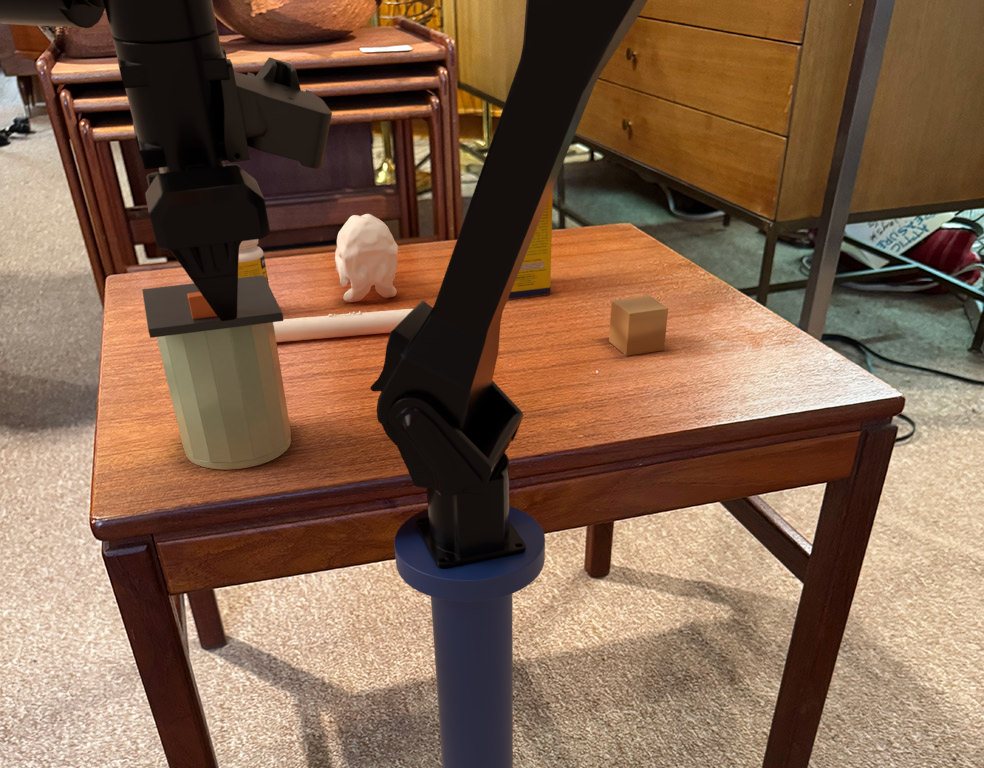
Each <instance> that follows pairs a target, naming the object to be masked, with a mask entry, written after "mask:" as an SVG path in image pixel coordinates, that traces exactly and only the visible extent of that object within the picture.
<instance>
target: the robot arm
mask: <svg viewBox="0 0 984 768" xmlns="http://www.w3.org/2000/svg"><path fill="white" fill-rule="evenodd" d="M648 1H649V0H525V12H524V27H523V42H522V48H521V54H520V59H519V61H518V64H517V68H516V70H515V73H514V76H513V79H512V82H511V85H510V88H509V91H508V93H507V96H506V98H505V102H504V104H503V107H502V110H501V113H500V116H499V119H498V122H497V124H496V128H495V131H494V133H493V136H492V139H491V141H490V145H489V147H488V150H487V153H486V156H485V159H484V162H483V165H482V167H481V170H480V173H479V176H478V179H477V181H476V185H475V187H474V190H473V193H472V196H471V198H470V201H469V204H468V208H467V210H466V213H465V216H464V219H463V222H462V225H461V227H460V230H459V234H458V236H457V238H456V242H455V244H454V248H453V250H452V253H451V255H450V256H451V257H450V259H449V262H448V265H447V268H446V270H445V272H444V273H445V274H444V276H443V279H442V282H441V285H440V287H439V290H438V293H437V296H436V299H435V302H434V304H433V306H431V305H430V304H428V302H426V301H424V300H420V302H419V303H418V304H417V305H416V306H414V308H412V309H413V310H412V311H411V312H410V313H409V314H408V315H407V316H406V317H405V318H404V319H403V320H402V321H401V322H400V323H399V324H398V325H397V326H396V327H395V328H394V329H393V330H392V331H391V332H390V333H389V336H388V340H387V343H386V347H385V354H384V355H385V356H384V363H383V368H382V371H381V372H380V374H379V376H378V378H377V379H376V380H375V381H374V382H373V384H372V385H370V390H371V392H374V393H375V392H379V393H380V394H379V396H378V398H377V403H376V418H377V421H378V423H379V424H381V426H382V428H383V430H384V433H385V434H386V436H387V437H388V438H389V439H390V440H391V442H392V443H393V444H394V445H395V446H396V447H397V449H398V451H399V453H400V456H401V458H402V460H403V462H404V465H405V467H406V469H407V472H408V474H409V477H410V478H411V480H412V483H413V485H414V486H415V487H417V488H423V489H426V500H427V501H426V504H427V509H428V517H423V518H419V519H417V520H416V521H415V524H416V529H417V531H418V532H419V534H420V536H421V538H422V540H423V542H424V544H425V545H426V547H427V549H428V551H429V553H430V555H431V557H432V559H433V560H434V562H435V564H436V566H437V567H438V568H440V569H448V568H453V567H458V566H463V565H468V564H473V563H478V562H483V561H488V560H493V559H498V558H503V557H508V556H513V555H518V554H522V553H524V552H525V551H526V544H525V543H524V541H523V540H522V538H521V537H520V535H519V534H518V533H517V531H516V530H515V528H514V527H513V525H512V524H511V523H510V521H509V506H510V459H509V457H508V455H507V454H506V451H507V449H508V448H509V446H510V444H511V443H512V442H513V441H514V440H515V438H516V436H517V434H518V431H519V429H520V426H521V423H522V421H523V418H524V412H523V411H522V410H521V409H520V408H519V407H518V405H516V403H515V402H514V401H513V400H511V398H510V397H509V396H508V395H507V394H506V393H505V392H504V391H503V390H502V389H501V388H500V386H498V384H497V383H496V382H495V381H494V380H493V379H494V375H495V369H496V365H497V361H498V355H499V349H500V335H501V323H502V322H501V321H502V318H503V317H502V316H503V312H504V310H505V308H506V305H507V302H508V297H509V295H510V292H511V290H512V288H513V285H514V283H515V280H516V278H517V275H518V273H519V270H520V268H521V265H522V263H523V260H524V258H525V255H526V253H527V251H528V248H529V246H530V243H531V241H532V238H533V236H534V233H535V231H536V228H537V226H538V223H539V221H540V219H541V216H542V214H543V211H544V209H545V206H546V204H547V201H548V199H549V196H550V194H551V191H552V189H553V190H554V187H555V184H556V181H557V180H558V176H559V175H560V171H561V169H562V166H563V164H564V161H565V159H566V157H567V154H568V152H569V149H570V147H571V145H572V142H573V140H574V137H575V135H576V132H577V129H578V127H579V125H580V122H581V120H582V117H583V115H584V112H585V110H586V107H587V105H588V103H589V101H590V97H591V95H592V92H593V90H594V87H595V86H596V83H597V82H598V80H599V78H600V77H601V74H602V73H603V71H604V69H605V68H606V66H607V65H608V63H609V62H610V61H611V59H612V58H613V56H614V54H615V53H616V51H617V49H618V48H619V47H620V45H621V43H622V42H623V41H624V39H625V37H626V36H627V34H628V33H629V31H630V30H631V28H632V26H633V25H634V23H635V22H636V20H638V17H639V16H640V14H641V13H642V10H643V9H644V7H645V5H646V4H647V2H648ZM104 13H105V14H106V17H107V18H106V19H107V22H108V25H109V30H110V34H111V38H112V42H113V47H114V50H115V54H116V58H117V63H118V64H117V65H118V68H119V69H118V70H119V73H120V78H121V80H122V85H123V89H124V90H125V93H126V97H127V101H128V105H129V109H130V114H131V118H132V125H133V131H134V135H135V141H136V145H137V150H138V154H139V157H140V160H141V164H142V165H143V168H144V170H152V169H158V171H155V172H150V173H148V174H147V175H146V183H147V187H148V188H147V190H146V191H145V193H144V194H145V200H146V206H147V211H148V216H149V219H150V223H151V228H152V231H153V235H154V239H155V243H156V246H157V249H160V250H162V251H163V250H164V251H168V252H171V254H172V255H173V257H174V258H175V259H176V260H177V262H178V263H179V265H180V266H181V267H182V268H183V270H184V271H185V273H186V274H187V276H188V277H189V278H190V280H191V281H192V282H193V283H194V284H195V285H196V287H197V288H198V290H199V291H200V292H201V294H202V295H203V297H204V298H205V300H206V301H207V302H208V304H209V305H210V307H211V308H212V310H213V311H214V313H215V314H216V315H217V317H218V318H219V320H221V321H230V320H235V319H236V318H237V299H238V261H239V246H240V244H241V242H242V241H248V240H256V239H258V240H262V239H264V238H267V236H269V235H271V228H270V223H269V217H268V210H267V205H266V200H265V197H264V195H263V192H262V190H261V189H260V185H259V184H258V181H257V180H256V178H254V177H253V176H252V175H250V174H249V173H248V172H246V171H245V170H244V169H243V168H242V167H241V166H240V165H239V164H236V163H237V162H238V163H239V162H247V161H251V157H250V151H249V148H252V149H253V150H257V151H260V152H263V153H267V154H270V155H274V156H278V157H281V158H284V159H289V160H292V161H297V162H298V163H299V165H300V166H302V167H304V168H305V167H306V168H310V169H315V170H319V169H322V167H323V162H324V157H325V151H326V147H327V141H328V136H329V131H330V126H331V122H332V121H331V120H332V116H333V112H332V110H331V109H330V107H329V106H328V105H327V104H326V102H325V101H324V100H323V99H322V98H321V97H319V96H317V95H315V94H314V93H313V91H312V90H309V89H306V90H305V91H304V90H302V89H301V86H300V82H299V81H300V80H299V77H298V74H297V70H296V68H295V67H294V66H293V65H292V64H291V63H290V62H286V61H283V60H280V59H277V58H274V57H268V58H267V60H266V61H265V63H264V64H263V65H262V67H260V69H259V71H258V72H257V74H255V73H252V72H249V71H247V74H245V73H241V72H237V71H235V70H234V66H233V62H232V60H231V59H230V58H228V57H227V51H226V49H225V47H224V46H223V45H222V46H221V41H220V35H219V29H218V25H217V20H216V15H215V9H214V2H213V0H0V24H1V25H17V26H18V25H19V26H20V25H21V26H37V27H38V26H39V27H57V28H74V29H75V28H77V29H90V28H93V27H94V26H95V25H97V24H98V23H99V22H100V20H101V19H102V17H103V16H104ZM225 161H227V162H228V163H226V164H225Z"/></svg>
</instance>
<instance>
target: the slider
mask: <svg viewBox="0 0 984 768" xmlns="http://www.w3.org/2000/svg"><path fill="white" fill-rule="evenodd" d="M141 291H142V297H143V304H144V310H145V317H146V324H147V331H148V334H149V338H151V339H152V338H157V337H161V336H169V335H177V334H185V333H193V332H201V331H208V330H216V329H224V328H232V327H240V326H248V325H256V324H263V323H271V322H279V321H283V319H284V314H283V313H284V312H283V311H282V310H281V307H280V305H279V303H278V301H277V299H276V297H275V294H274V293H273V291H272V289H271V286H270V284H269V285H268V283H267V281H266V279H265V277H264V275H262V276H254V277H245V278H238V299H237V318H236V319H235V320H230V321H221V320H219V318H218V317H217V315H216V314H215V313H214V311H213V310H212V308H211V307H210V305H209V304H208V302H207V301H206V300H205V298H204V297H203V295H202V294H201V292H200V291H199V290H198V288H197V287H196V285H195V284H194V282H193V283H186V284H177V285H167V286H159V287H151V288H143V289H142V290H141Z"/></svg>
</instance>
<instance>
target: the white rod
mask: <svg viewBox="0 0 984 768" xmlns="http://www.w3.org/2000/svg"><path fill="white" fill-rule="evenodd" d="M413 309H414V308H405V309H391V310H382V311H380V310H378V311H367V312H361V310H359V311H358V312H356V311H352V312H349V313H340V314H335V312H333V313H334V314H333V313H328V315H317V316H307V317H296V318H295V317H293V318H283V321H279V322H273V325H274V331H275V337H276V343H285V342H296V341H307V340H308V341H309V340H319V339H320V340H321V339H330V338H331V339H332V338H333V339H334V338H343V337H354V336H366V335H378V334H390V332H391V331H392V330H393V329H394V328H395V327H396V326H397V325H398V324H399V323H400V322H401V321H402V320H403V319H404V318H405V317H406V316H407V315H408V314H409V313H410V312H411V311H412V310H413Z"/></svg>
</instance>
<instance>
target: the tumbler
mask: <svg viewBox="0 0 984 768" xmlns="http://www.w3.org/2000/svg"><path fill="white" fill-rule="evenodd" d="M156 340H157V345H158V348H159V349H158V350H159V353H160V357H161V362H162V365H163V369H164V375H165V377H166V382H167V387H168V390H169V394H170V398H171V399H170V400H171V403H172V406H173V411H174V414H175V415H174V416H175V418H176V423H177V427H178V430H179V431H178V432H179V436H180V439H181V443H182V447H183V451H184V455H185V457H186V458H187V460H189V461H190V462H191V463H192V464H195V465H197V466H198V467H202V468H207V469H210V470H211V469H212V470H225V471H226V470H227V471H228V470H229V471H230V470H240V469H248V468H252V467H257V466H260V465H263V464H266V463H269V462H271V461H273V460H275V459H277V458H279V457H280V456H282V455H283V454H284V453H286V452H287V451H288V450H289V448H290V446H291V444H292V430H291V425H290V424H291V423H290V418H289V411H288V405H287V400H286V399H287V398H286V393H285V386H284V381H283V374H282V368H281V362H280V355H279V351H278V349H279V348H278V342H276V337H275V331H274V325H273V322H271V323H263V324H256V325H248V326H240V327H232V328H224V329H216V330H208V331H201V332H193V333H185V334H177V335H169V336H161V337H156Z"/></svg>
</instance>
